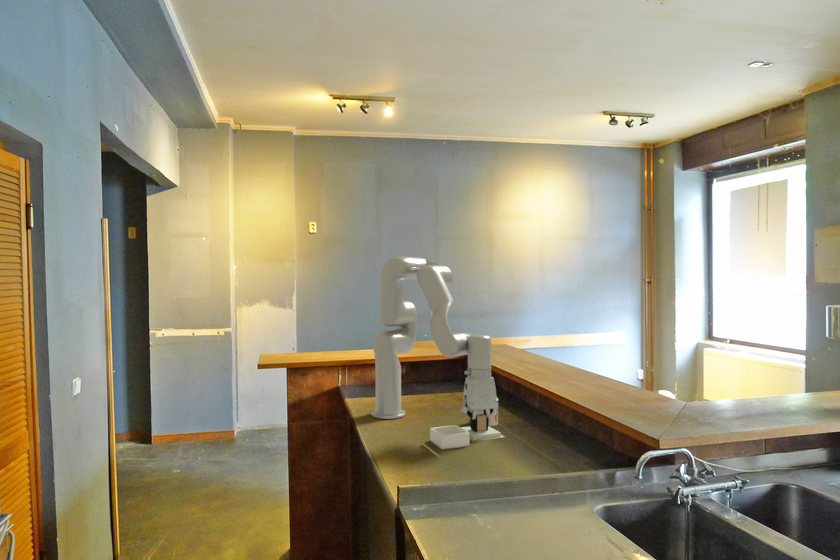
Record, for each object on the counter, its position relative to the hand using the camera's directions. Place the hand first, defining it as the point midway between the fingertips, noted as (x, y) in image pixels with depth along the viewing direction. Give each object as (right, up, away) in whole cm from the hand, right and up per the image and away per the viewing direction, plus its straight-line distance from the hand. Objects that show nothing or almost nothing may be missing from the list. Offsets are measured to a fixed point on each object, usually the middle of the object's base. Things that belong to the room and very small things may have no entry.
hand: (479, 429), depth 166 cm
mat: (0, -2, 0) cm, 2 cm away
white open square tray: (-10, -2, -9) cm, 14 cm away
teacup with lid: (+4, -2, +14) cm, 15 cm away
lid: (0, -1, 0) cm, 1 cm away
